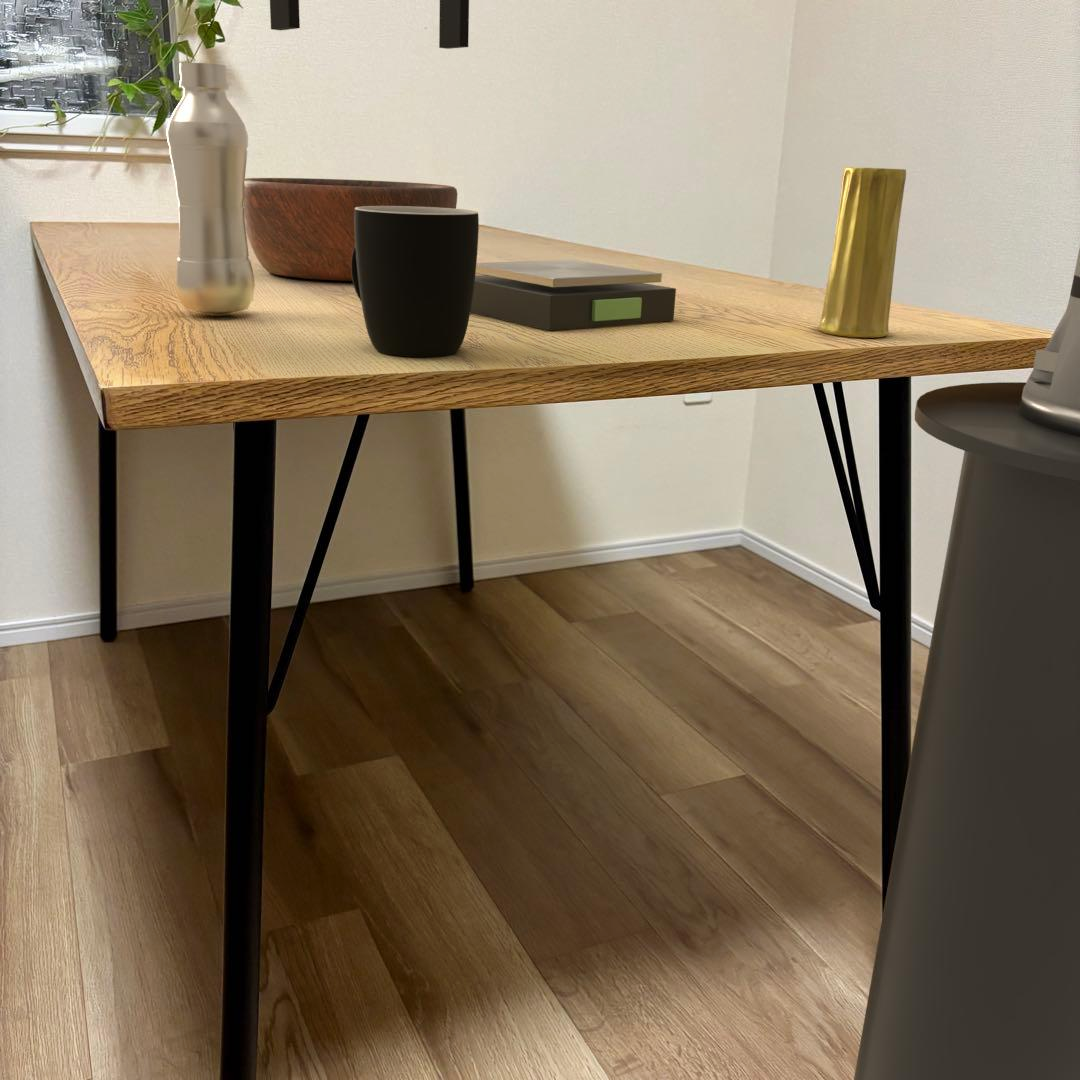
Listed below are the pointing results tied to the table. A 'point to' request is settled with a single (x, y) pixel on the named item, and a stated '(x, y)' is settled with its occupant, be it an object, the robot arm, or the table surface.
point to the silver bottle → (210, 194)
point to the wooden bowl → (321, 220)
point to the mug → (415, 276)
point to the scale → (571, 304)
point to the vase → (864, 253)
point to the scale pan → (566, 273)
